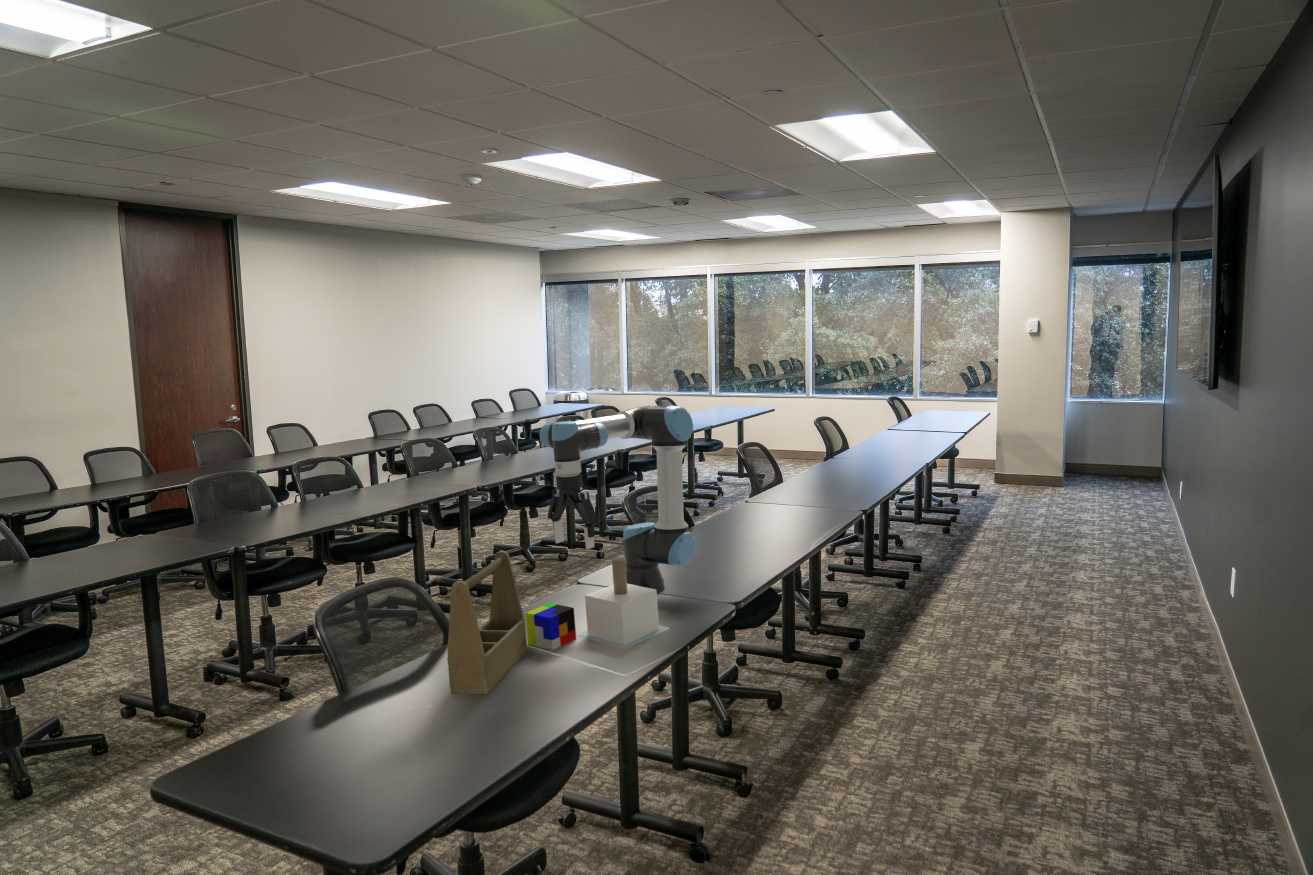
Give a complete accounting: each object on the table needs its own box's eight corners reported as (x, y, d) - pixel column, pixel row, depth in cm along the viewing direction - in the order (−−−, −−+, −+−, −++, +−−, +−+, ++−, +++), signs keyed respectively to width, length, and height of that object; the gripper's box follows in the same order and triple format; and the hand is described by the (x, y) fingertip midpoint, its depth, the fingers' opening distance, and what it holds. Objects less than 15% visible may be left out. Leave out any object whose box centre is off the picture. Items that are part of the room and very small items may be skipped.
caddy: (488, 695, 212) (477, 581, 209) (449, 693, 214) (438, 581, 211) (528, 651, 241) (519, 550, 237) (493, 651, 243) (484, 551, 239)
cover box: (622, 619, 261) (618, 550, 258) (659, 629, 251) (654, 557, 248) (587, 634, 250) (582, 562, 247) (624, 644, 240) (618, 569, 237)
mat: (622, 617, 264) (622, 616, 264) (670, 629, 251) (670, 628, 251) (576, 637, 250) (576, 635, 250) (624, 650, 236) (624, 649, 236)
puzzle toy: (552, 651, 240) (550, 617, 238) (528, 645, 246) (525, 612, 244) (576, 640, 247) (573, 607, 246) (552, 634, 253) (549, 602, 252)
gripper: (531, 473, 249) (538, 542, 252) (587, 479, 232) (594, 553, 235) (551, 469, 254) (557, 537, 257) (607, 475, 237) (613, 547, 240)
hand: (574, 545), depth 246 cm, fingers open, 13 cm apart
